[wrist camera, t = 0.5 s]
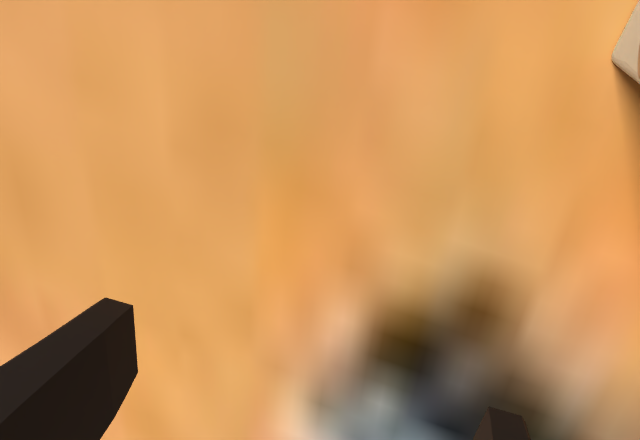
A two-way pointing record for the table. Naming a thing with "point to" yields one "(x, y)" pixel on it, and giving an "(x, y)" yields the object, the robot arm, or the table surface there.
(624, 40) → the skincare box
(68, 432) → the robot arm
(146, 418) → the table surface
